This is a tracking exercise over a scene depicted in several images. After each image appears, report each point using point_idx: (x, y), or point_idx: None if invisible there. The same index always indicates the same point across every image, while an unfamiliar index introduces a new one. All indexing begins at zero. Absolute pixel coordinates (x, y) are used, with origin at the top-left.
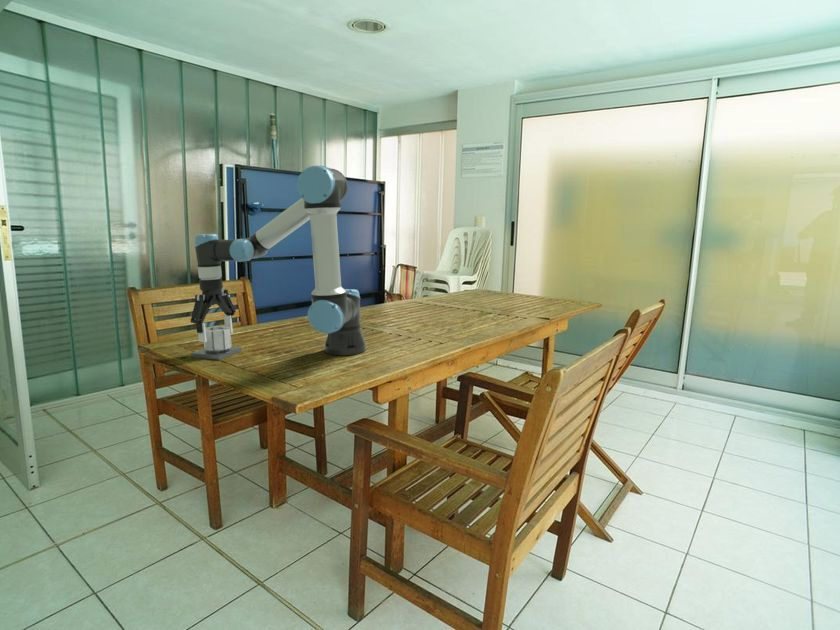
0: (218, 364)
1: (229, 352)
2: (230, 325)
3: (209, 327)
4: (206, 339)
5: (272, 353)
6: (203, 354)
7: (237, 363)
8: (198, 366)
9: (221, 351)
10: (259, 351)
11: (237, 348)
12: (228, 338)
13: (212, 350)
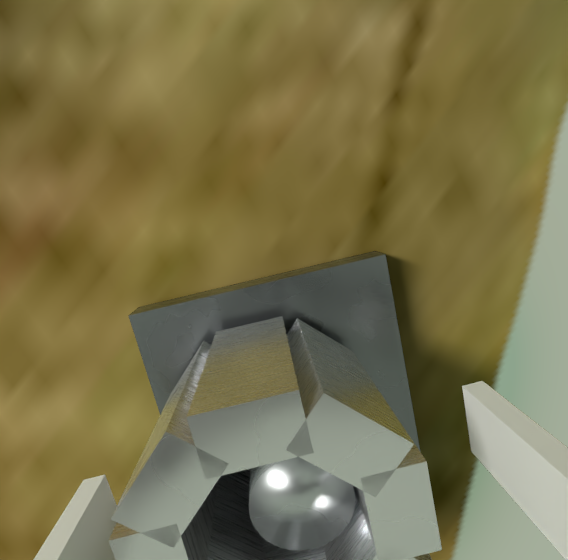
0: (438, 179)
1: (270, 281)
2: (63, 555)
3: None
4: (476, 395)
5: (25, 46)
6: (407, 385)
7: (361, 74)
8: (523, 257)
9: None
10: (53, 195)
11: (171, 311)
12: (234, 356)
13: (362, 365)
